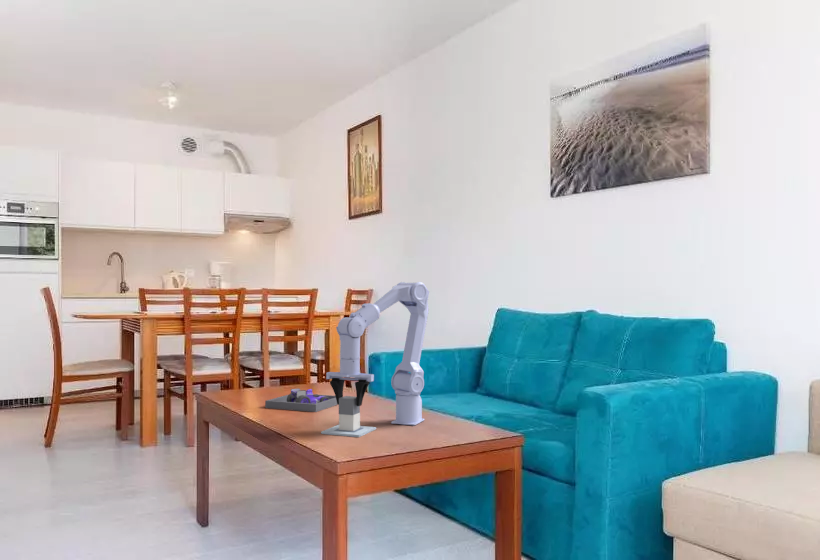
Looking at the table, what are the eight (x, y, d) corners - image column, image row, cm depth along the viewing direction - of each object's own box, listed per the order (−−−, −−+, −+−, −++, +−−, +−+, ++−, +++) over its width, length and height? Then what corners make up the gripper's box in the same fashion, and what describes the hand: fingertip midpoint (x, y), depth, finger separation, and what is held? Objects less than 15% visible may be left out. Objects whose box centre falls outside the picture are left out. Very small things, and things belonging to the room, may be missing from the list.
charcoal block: (345, 411, 195) (345, 395, 195) (359, 412, 193) (359, 396, 193) (338, 414, 190) (338, 398, 190) (353, 415, 189) (353, 399, 189)
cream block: (345, 426, 195) (345, 411, 195) (359, 428, 193) (360, 412, 193) (338, 429, 191) (339, 413, 191) (353, 431, 189) (353, 415, 189)
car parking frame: (294, 399, 248) (294, 392, 248) (342, 403, 241) (342, 396, 241) (265, 407, 230) (265, 400, 230) (315, 412, 223) (316, 404, 223)
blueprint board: (339, 426, 199) (339, 423, 199) (376, 429, 195) (376, 426, 195) (321, 433, 188) (321, 431, 188) (359, 437, 184) (359, 434, 184)
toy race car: (336, 406, 236) (336, 388, 236) (298, 410, 227) (298, 391, 227) (323, 402, 244) (323, 385, 244) (286, 406, 235) (286, 388, 235)
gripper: (321, 358, 191) (320, 405, 191) (367, 360, 186) (366, 408, 186) (332, 356, 198) (332, 401, 197) (376, 358, 193) (376, 405, 192)
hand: (349, 404), depth 192 cm, fingers open, 6 cm apart
